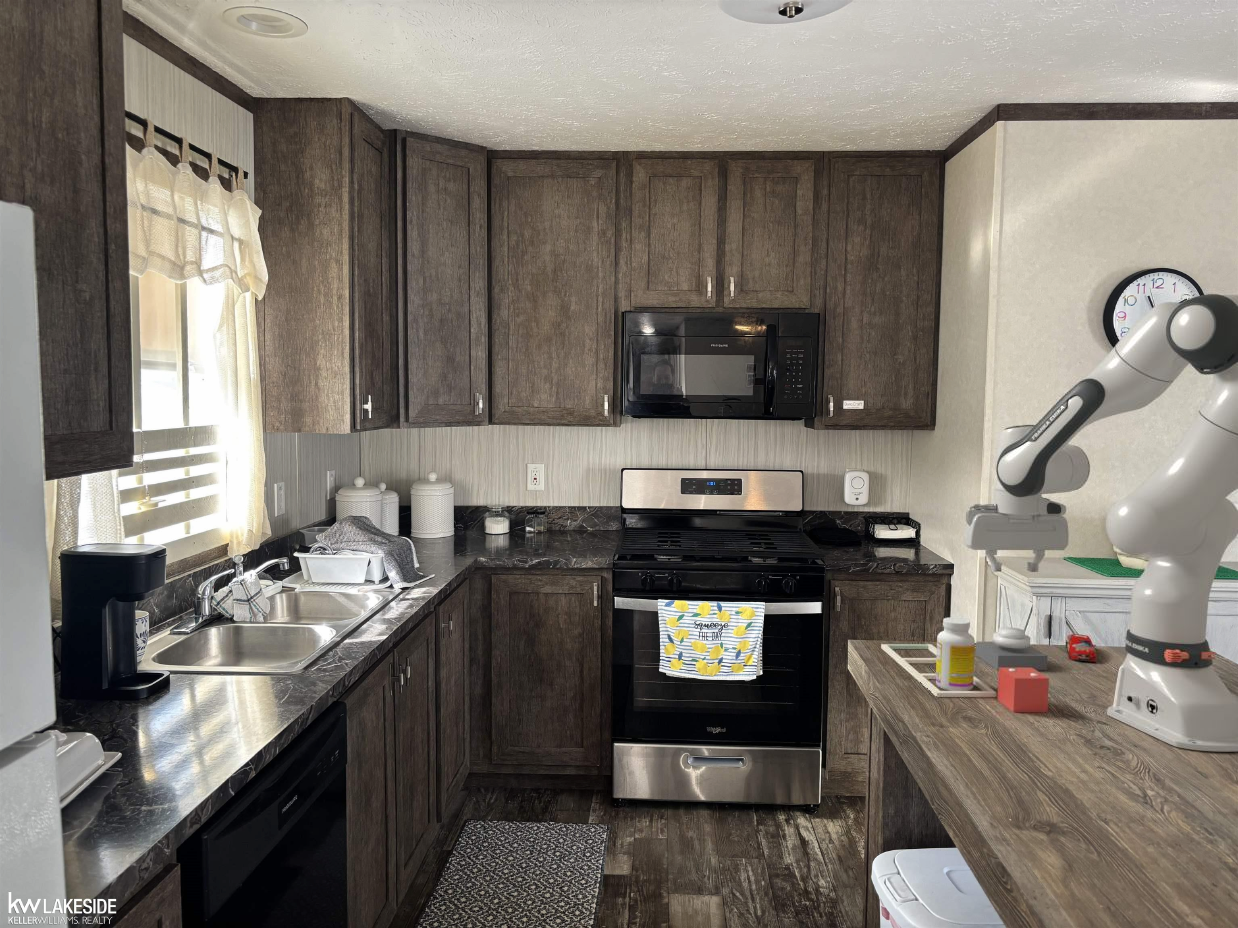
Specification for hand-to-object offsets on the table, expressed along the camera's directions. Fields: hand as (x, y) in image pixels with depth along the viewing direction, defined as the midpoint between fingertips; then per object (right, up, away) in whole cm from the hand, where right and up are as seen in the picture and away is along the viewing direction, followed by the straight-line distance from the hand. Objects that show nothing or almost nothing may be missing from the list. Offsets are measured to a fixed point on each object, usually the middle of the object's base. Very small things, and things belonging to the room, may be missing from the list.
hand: (1014, 571), depth 177 cm
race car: (+18, -19, +8) cm, 27 cm away
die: (-9, -21, -24) cm, 33 cm away
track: (-18, -19, -4) cm, 27 cm away
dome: (0, -15, +1) cm, 15 cm away
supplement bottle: (-18, -20, -14) cm, 30 cm away
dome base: (0, -19, +2) cm, 19 cm away
